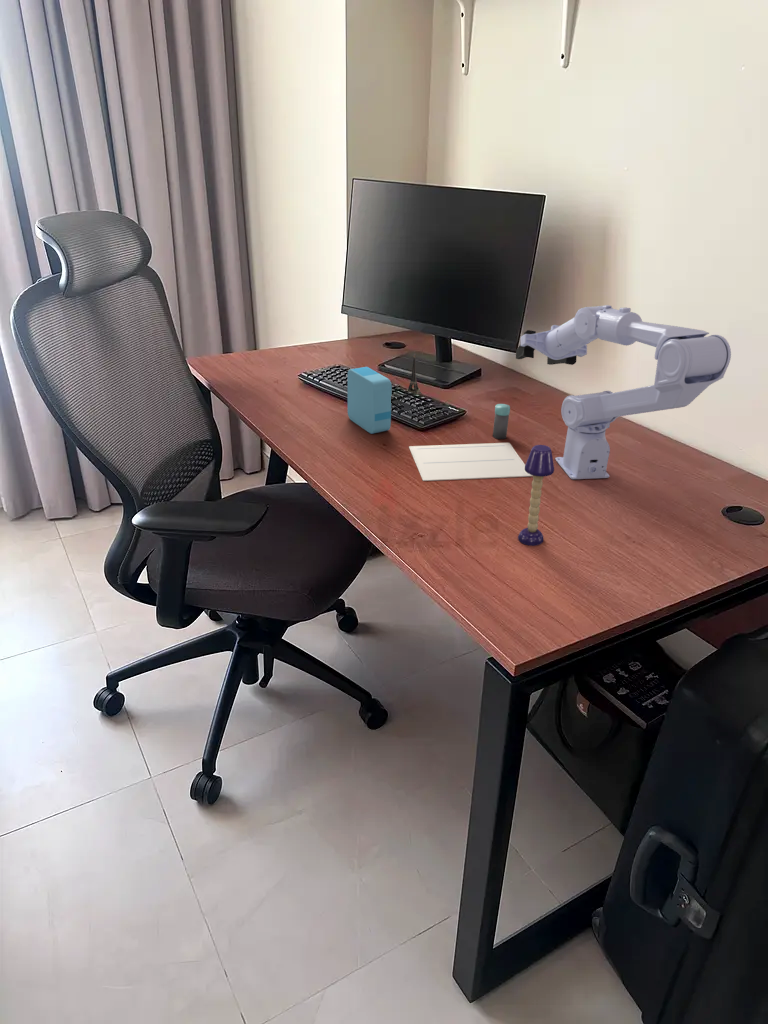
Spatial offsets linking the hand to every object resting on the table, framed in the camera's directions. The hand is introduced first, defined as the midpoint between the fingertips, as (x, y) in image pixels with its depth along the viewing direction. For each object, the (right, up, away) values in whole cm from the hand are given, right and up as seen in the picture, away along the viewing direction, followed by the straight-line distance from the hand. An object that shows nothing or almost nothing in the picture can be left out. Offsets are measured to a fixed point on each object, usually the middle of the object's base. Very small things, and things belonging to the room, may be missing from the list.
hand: (533, 357), depth 158 cm
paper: (-15, -23, -8) cm, 28 cm away
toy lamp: (-7, -38, -34) cm, 52 cm away
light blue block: (-36, -14, +8) cm, 39 cm away
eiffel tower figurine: (-26, -7, +22) cm, 34 cm away
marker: (-7, -17, +4) cm, 18 cm away
